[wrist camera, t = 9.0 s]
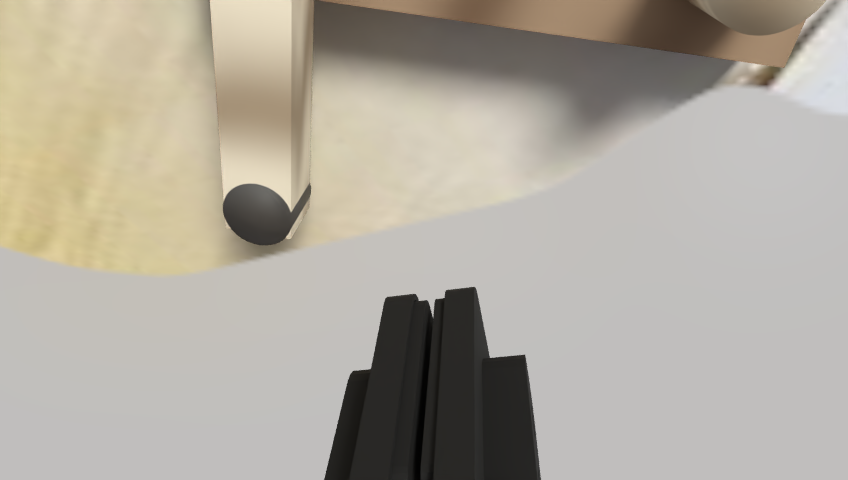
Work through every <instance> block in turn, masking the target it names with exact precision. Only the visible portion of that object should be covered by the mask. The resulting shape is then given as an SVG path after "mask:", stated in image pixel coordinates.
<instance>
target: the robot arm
mask: <svg viewBox="0 0 848 480" xmlns="http://www.w3.org/2000/svg"><path fill="white" fill-rule="evenodd" d="M324 480H541V477H540V468H539V458H538V449H537V440H536V431H535V423H534V415H533V406H532V398H531V391H530V383H529V376H528V370H527V363H526V358H525V355H519V356H518V355H517V356H507V357H496V358H490V356H489V351H488V346H487V341H486V336H485V331H484V327H483V321H482V315H481V310H480V305H479V301H478V295H477V291H476V288H475V287H470V288H461V289H453V290H446V292H445V298H443V299H436V300H435V306H434V317H432V313H431V310H430V306H429V303H428V301H427V300H425V301H418V297H417V296H416V294H409V295H401V296H393V297H387V298H386V299H385V302H384V306H383V312H382V317H381V322H380V327H379V332H378V337H377V342H376V347H375V352H374V357H373V362H372V367H371V369H369V370H359V371H353V372H352V373H351V374H350V377H349V380H348V383H347V387H346V391H345V395H344V399H343V403H342V408H341V412H340V416H339V420H338V424H337V429H336V434H335V437H334V441H333V446H332V450H331V454H330V458H329V463H328V466H327V471H326V475H325V479H324Z"/></svg>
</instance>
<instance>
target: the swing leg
mask: <svg viewBox="0 0 848 480" xmlns="http://www.w3.org/2000/svg"><path fill="white" fill-rule="evenodd" d="M210 10H211V24H212V39H213V53H214V68H215V82H216V97H217V111H218V126H219V140H220V155H221V169H222V183H223V198H224V203H223V213H224V217H225V227H226V228H228V229H232V230H233V231H234V232H235V233H236V234H237V235H238V236H239V237H241V238H242V239H244V240H246V241H248V242H250V243H253V244H258V245H272V244H276V243H278V242H280V241H282V240H283V239H285V238H287V239H291V238H292V236H293V235H294V233H295V231H296V229H297V228H298V226H299V224H300V222H301V221H302V219H303V217H304V216H305V214H306V212H307V210H308V209H309V200H310V194H311V185H310V156H311V112H312V68H313V24H314V0H210Z"/></svg>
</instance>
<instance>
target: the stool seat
mask: <svg viewBox="0 0 848 480" xmlns="http://www.w3.org/2000/svg"><path fill="white" fill-rule="evenodd" d="M318 1H325V2H332V3H339V4H346V5H352V6H359V7H366V8H373V9H380V10H387V11H394V12H401V13H408V14H415V15H422V16H429V17H436V18H443V19H450V20H457V21H463V22H470V23H477V24H484V25H491V26H498V27H505V28H512V29H519V30H526V31H533V32H540V33H547V34H554V35H561V36H567V37H574V38H581V39H588V40H595V41H602V42H609V43H616V44H623V45H630V46H637V47H644V48H651V49H658V50H665V51H672V52H678V53H685V54H692V55H699V56H706V57H713V58H720V59H727V60H734V61H741V62H748V63H755V64H762V65H769V66H776V67H782V68H784V67H785V65H786V63H787V60H788V58H789V56H790V54H791V51H792V49H793V47H794V45H795V43H796V40H797V38H798V36H799V34H800V32H801V29H802V27H803V25H804V23H805V20H806V19H807V18H809V17H810V16H811V15H812V14H813V13H815V12H816V11H817V10H818V9H819V8H820V7H821V6H822V5H823V4H824V3H825V1H826V0H318Z"/></svg>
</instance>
